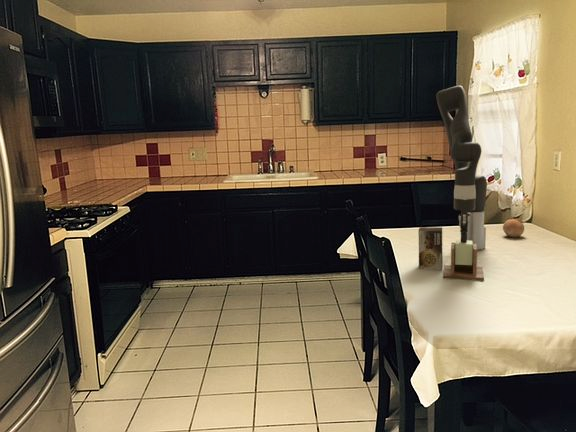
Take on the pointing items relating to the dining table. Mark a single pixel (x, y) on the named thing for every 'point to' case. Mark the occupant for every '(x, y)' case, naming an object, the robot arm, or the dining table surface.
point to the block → (463, 253)
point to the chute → (464, 267)
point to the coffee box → (430, 248)
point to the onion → (513, 228)
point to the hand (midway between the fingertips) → (463, 242)
